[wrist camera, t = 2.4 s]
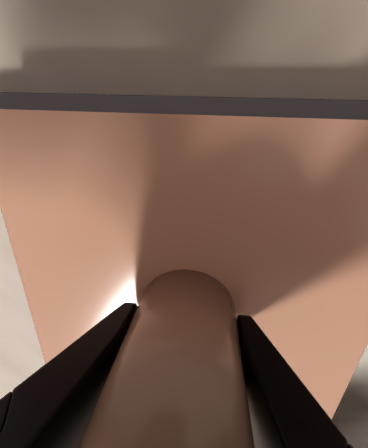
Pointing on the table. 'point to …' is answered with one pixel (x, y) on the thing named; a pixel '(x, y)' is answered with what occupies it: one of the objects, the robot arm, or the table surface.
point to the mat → (188, 105)
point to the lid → (191, 257)
